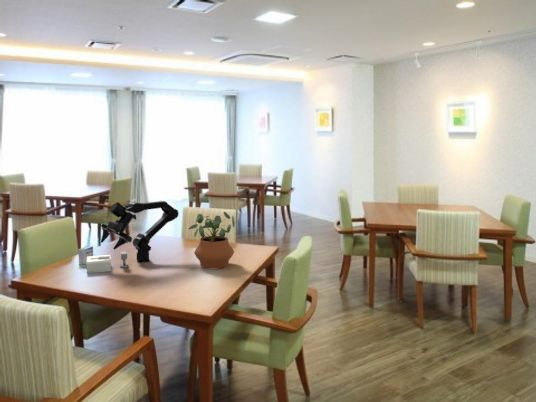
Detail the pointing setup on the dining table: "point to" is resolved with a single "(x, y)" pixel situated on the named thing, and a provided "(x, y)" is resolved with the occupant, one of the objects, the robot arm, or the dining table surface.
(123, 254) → the peg
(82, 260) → the medicine box
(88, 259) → the keyhole plate
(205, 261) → the potted plant
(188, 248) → the dining table surface
